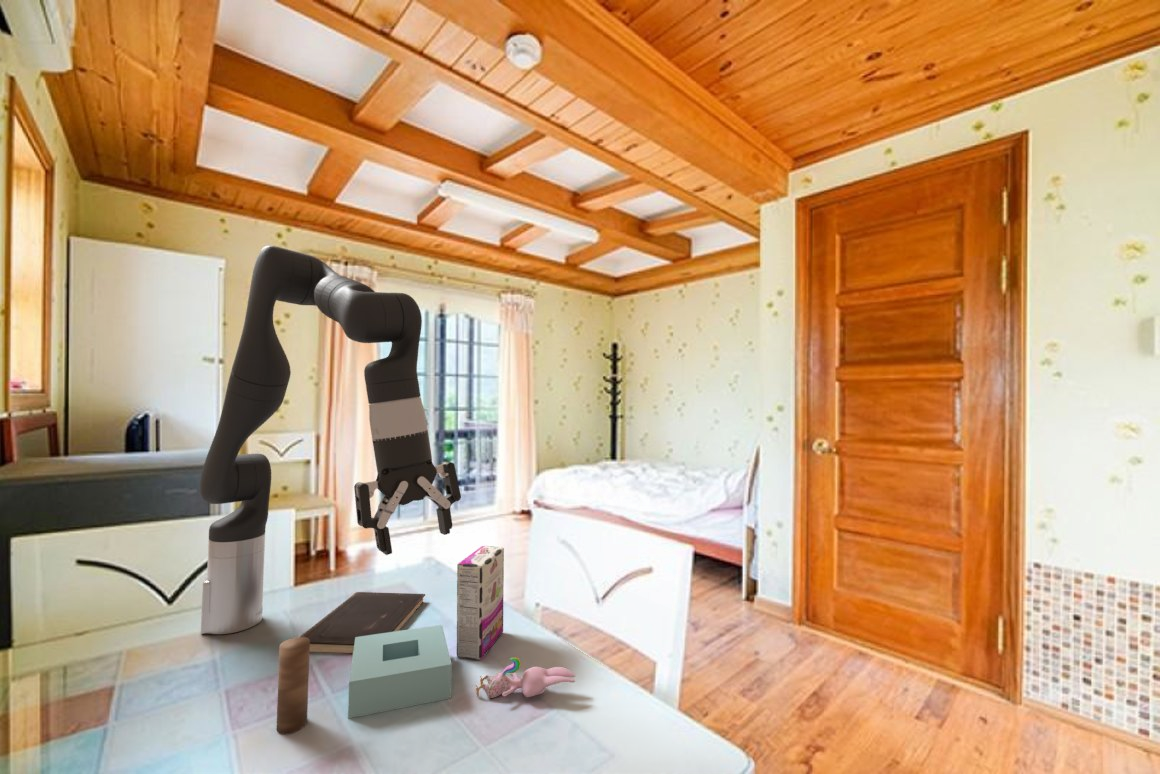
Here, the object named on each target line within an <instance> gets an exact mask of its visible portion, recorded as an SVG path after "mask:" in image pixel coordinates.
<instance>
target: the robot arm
mask: <svg viewBox="0 0 1160 774" xmlns="http://www.w3.org/2000/svg"><path fill="white" fill-rule="evenodd" d="M252 270H253V271H252V275H251V280H250V287H249V292H248V293H249V294H248V300H247V306H246V311H245V316H244V317H245V318H244V323H243V327H242V331H241V332H242V333H241V337H240V339H239V344H238V347H237V351H236V352H235V353H236V354H235V358H234V360H233V364H232V367H231V369H230V375H229V379H228V382H227V387H226V390H225V391H226V392H225V397H224V401H223V404H222V408H221V409H222V410H221V413H220V417H219V422H218V424H217V428H216V431H215V434H214V436H213V439H212V442H211V445H210V447H209V449H208V453H207V455H206V457H205V461H204V464H203V467H202V470H201V474H200V479H199V491H200V496H201V499H202V500H204V502H206V504H207V503H208V504H211V505H223V504H230V503H239V502H240V504H239V506H238V507H237V508H236V509H235V510H234V511H232V512H231V513H229V514H227V515H226V516H223V517H221V518H219V519H218V520H214V522H212V523H211V524H210V525H209V529H208V544H207V547H208V548H207V549H208V550H207V569H206V571H207V573H206V579H205V580H204V581H203V583H202V592H201V593H202V597H201V598H202V599H201V619H200V620H201V621H200V634H204V635H205V634H210V635H228V634H233V633H237V632H238V633H239V632H241V631H245V630H248V629H250V628H254V626H256V625H258V624H259V623H261V621H262V620H263V610H264V609H263V602H264V600H263V599H264V580H265V579H264V575H265V573H264V572H265V571H264V570H265V550H266V549H265V548H266V545H265V544H266V526H267V522H268V518H269V506H270V497H271V486H272V468H271V467H272V466H271V462H270V459H268V457H267V456H266V455H265V454H262V453H246V454H245V453H241V454H239V453H240V451H241V449H242V447H243V446H244V444H245V443H246V441H247V440H248V438H250V436H252V435H253V434H254V432H255V431H257V430H258V429H260V427H261V426H262V425H263V424H265V423H266V422H267V421H268V420H269V419H270V418H271V417H272V416H273V415H274V414H275V413H276V412H277V411H278V410H279V409H280V407H281V406H282V404H283V402H284V399H285V396H286V393H287V389H288V385H289V383H290V379H291V373H292V371H291V366H290V362H289V359H288V357H287V354H286V351H285V350H284V348H283V346H282V344H281V342H280V340H279V337H278V334H277V331H276V327H275V324H274V309H275V304H276V302H277V301H278V302H282V303H287V304H295V305H299V306H314V307H317V308H318V310H319V312H320V313H321V314H323V315H325V316H326V317H327V318H329V319H331V320H333V321H334V322H336V323H338V324H339V325H340V327H341V329H342V330H343V332H344V334H345V336H346V337H347V338H348V339H350V340H352V341H353V342H358V343H363V344H377V343H391V347H390V350H389V354H388V355H387V357H384V358H380V359H375V360H374V361H370V362H369V363H367V364H366V365H365V367H364V370H363V373H364V382H365V388H366V389H365V390H366V393H367V394H366V395H367V401H368V402H367V403H368V408H369V410H368V416H369V418H368V419H369V425H370V427H369V428H370V433H371V440H372V441H371V442H372V447H373V452H374V459H375V466H376V467H375V468H376V471H377V475H376V480H374V481H373V480H372V481H367V482H361V481H359V482H356V483H355V484H354V487H353V488H354V489H353V490H354V499H355V509H356V521H357V524H358V526H360V527H362V528H363V529H373V531H374V536H375V543H376V548H377V549H378V551H379V552H381V553H382V554H384V555H385V556H388V555H391V554H393V549H392V541H391V535H390V529H389V528H390V527H389V526H387V524H388V522H389V520H390V519H391V516H392V515H393V514H394V513H395V511H396V510H397V508H398V506H399V505H400V506H405V505H408V504H411V503H412V502H416V501H418V502H419V501H422V500H424V499H425V498H427V499H429V501H431V502H432V503H433V504H434V505H435V506H437V507H438V508H436V517H437V523H438V529H439V533H440V534H442V535H444V536H445V535H449V534H450V533H451V530H452V528H453V520H452V513H451V506H452V505H454V504H455V503H456V502H459V501H460V500H461V499H462V494H461V489H460V484H459V481H458V475H457V470H456V466H455V464H454V462H450V461H442V462H441V463H440V464H438V465H435V464H434V463H433V456H432V448H431V443H430V437H429V436H430V435H429V430H428V425H429V424H428V420H427V417H426V412H425V407H424V405H423V401H422V397H421V390H420V383H419V376H418V360H419V359H418V358H419V350H420V349H419V348H420V339H421V332H422V326H423V325H422V324H423V320H422V313H421V309H420V307H419V304H418V303H417V301H416V300H415V299H414V298H413V297H412V296H411V295H409V294H407V293H403V292H379V291H378V292H375V291H374V289H373V288H371V287H370V286H369V285H366V284H365V283H363V282H360V281H358V280H355V279H353V278H349V277H347V276H344V275H340V274H339V273H337V271H335V270H334V269H332V268H331V267H330V266H329V265H328V264H326V263H325V262H324V261H322V260H321V259H319V258H317V257H316V256H313V255H310V254H307V253H303V252H299V251H296V250H291V249H288V248H284V247H280V246H276V245H272V244H271V245H266V246H264V247H262V248H261V250H260V251H259V253H258V255H257V257H256V259H255V263H254V267H253V269H252ZM437 475H438V476H439V477H440V478H442V480H443V484H444V489H445V494H446V495H445V496H444V494H442V492H441V491H440V490H439V489H437V488H436V487H435V486H434V485H433V483H434V481H435V479H436V477H437ZM376 490H378V491H380V492H381V493H382V494H383V497H382V498H381V500H380V501H379V504H378V507H377V510H376V512H375V514H374V516H372V508H371V498H373V497H374V495H375V491H376Z"/></svg>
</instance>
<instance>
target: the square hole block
mask: <svg viewBox="0 0 1160 774" xmlns="http://www.w3.org/2000/svg"><path fill="white" fill-rule="evenodd" d="M452 667H453V665H452V660H451V655H450V651H449V649H448V644H447V639H446V634H445V630H444V627H443V624H438V625H430V626H424V627H418V628H410V629H403V630H398V631H395V632H388V633H381V634H374V635H367V636H360V637H355V643H354V651H353V653H352V660H351V665H350V673H349V679H348V701H347V702H348V706H347V707H348V708H347V719H352V718H357V717H362V716H368V715H373V714H377V713H382V712H387V711H392V710H397V709H402V708H408V707H414V706H418V705H422V704H427V703H429V704H430V703H434V702H439V701H444V700H448V699H451V698H452Z"/></svg>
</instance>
